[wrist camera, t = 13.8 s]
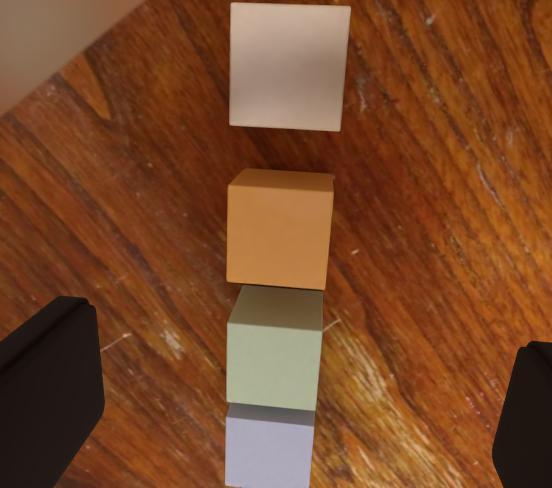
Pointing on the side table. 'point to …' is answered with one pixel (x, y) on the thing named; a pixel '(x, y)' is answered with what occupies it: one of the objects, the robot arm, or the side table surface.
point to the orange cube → (279, 228)
